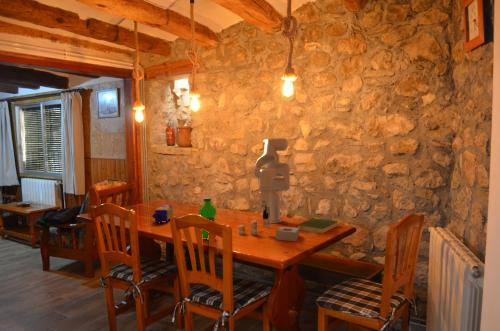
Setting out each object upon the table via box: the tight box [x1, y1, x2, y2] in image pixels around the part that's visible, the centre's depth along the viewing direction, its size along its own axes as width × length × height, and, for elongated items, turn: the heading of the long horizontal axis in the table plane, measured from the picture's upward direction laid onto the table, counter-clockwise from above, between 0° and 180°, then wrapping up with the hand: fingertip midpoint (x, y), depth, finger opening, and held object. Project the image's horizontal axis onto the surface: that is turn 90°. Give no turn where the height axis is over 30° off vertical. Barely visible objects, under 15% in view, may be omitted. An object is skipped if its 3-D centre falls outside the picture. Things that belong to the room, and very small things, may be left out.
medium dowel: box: [250, 220, 258, 236], centre depth 235 cm, size 4×4×8 cm
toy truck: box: [152, 204, 174, 224], centre depth 278 cm, size 10×25×10 cm, turn 179°
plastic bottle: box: [198, 197, 217, 239], centre depth 224 cm, size 10×10×25 cm
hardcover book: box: [296, 217, 339, 234], centre depth 250 cm, size 25×19×4 cm
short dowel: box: [238, 224, 246, 236], centre depth 237 cm, size 4×4×5 cm
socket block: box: [275, 226, 300, 242], centre depth 226 cm, size 12×12×5 cm
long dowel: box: [262, 207, 271, 228], centre depth 233 cm, size 4×4×14 cm
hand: (266, 217), depth 233 cm, fingers closed on long dowel, 4 cm apart
